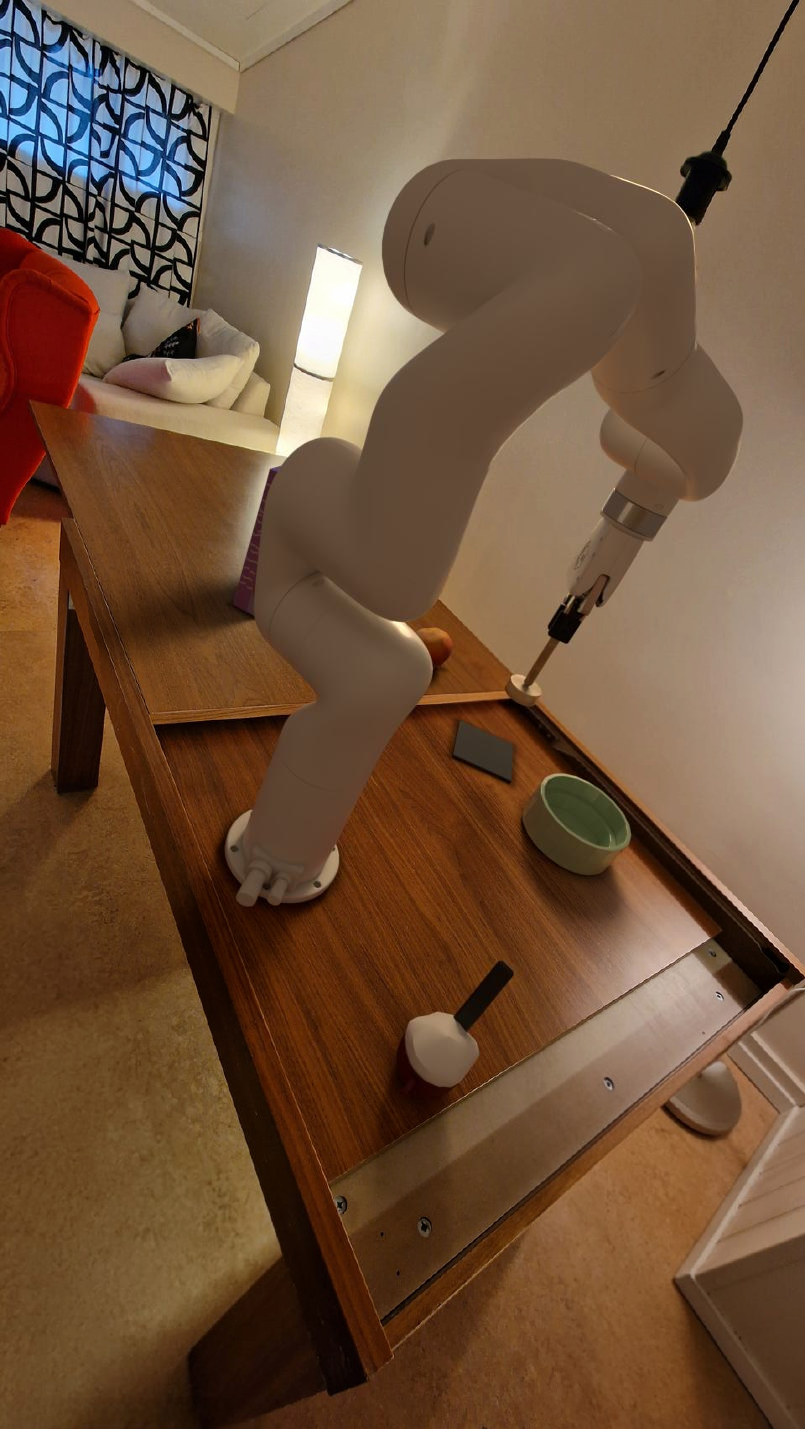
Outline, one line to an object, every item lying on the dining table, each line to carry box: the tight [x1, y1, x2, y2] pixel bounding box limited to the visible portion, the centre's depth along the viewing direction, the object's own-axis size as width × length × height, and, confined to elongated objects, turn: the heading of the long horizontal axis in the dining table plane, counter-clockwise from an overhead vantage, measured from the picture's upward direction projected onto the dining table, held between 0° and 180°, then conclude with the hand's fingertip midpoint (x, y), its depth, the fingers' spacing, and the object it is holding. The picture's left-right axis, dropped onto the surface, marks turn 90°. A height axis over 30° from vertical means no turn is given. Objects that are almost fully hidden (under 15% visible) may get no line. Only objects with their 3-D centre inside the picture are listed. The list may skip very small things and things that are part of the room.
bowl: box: [521, 773, 632, 876], centre depth 90 cm, size 14×14×6 cm
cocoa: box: [396, 960, 515, 1099], centre depth 54 cm, size 10×6×12 cm, turn 118°
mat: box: [452, 719, 514, 783], centre depth 100 cm, size 10×10×1 cm
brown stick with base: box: [504, 602, 577, 707], centre depth 89 cm, size 5×5×17 cm
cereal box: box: [232, 465, 281, 618], centre depth 105 cm, size 17×5×24 cm, turn 161°
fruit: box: [414, 627, 453, 670], centre depth 114 cm, size 8×8×8 cm
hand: (557, 635), depth 88 cm, fingers closed on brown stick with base, 1 cm apart
